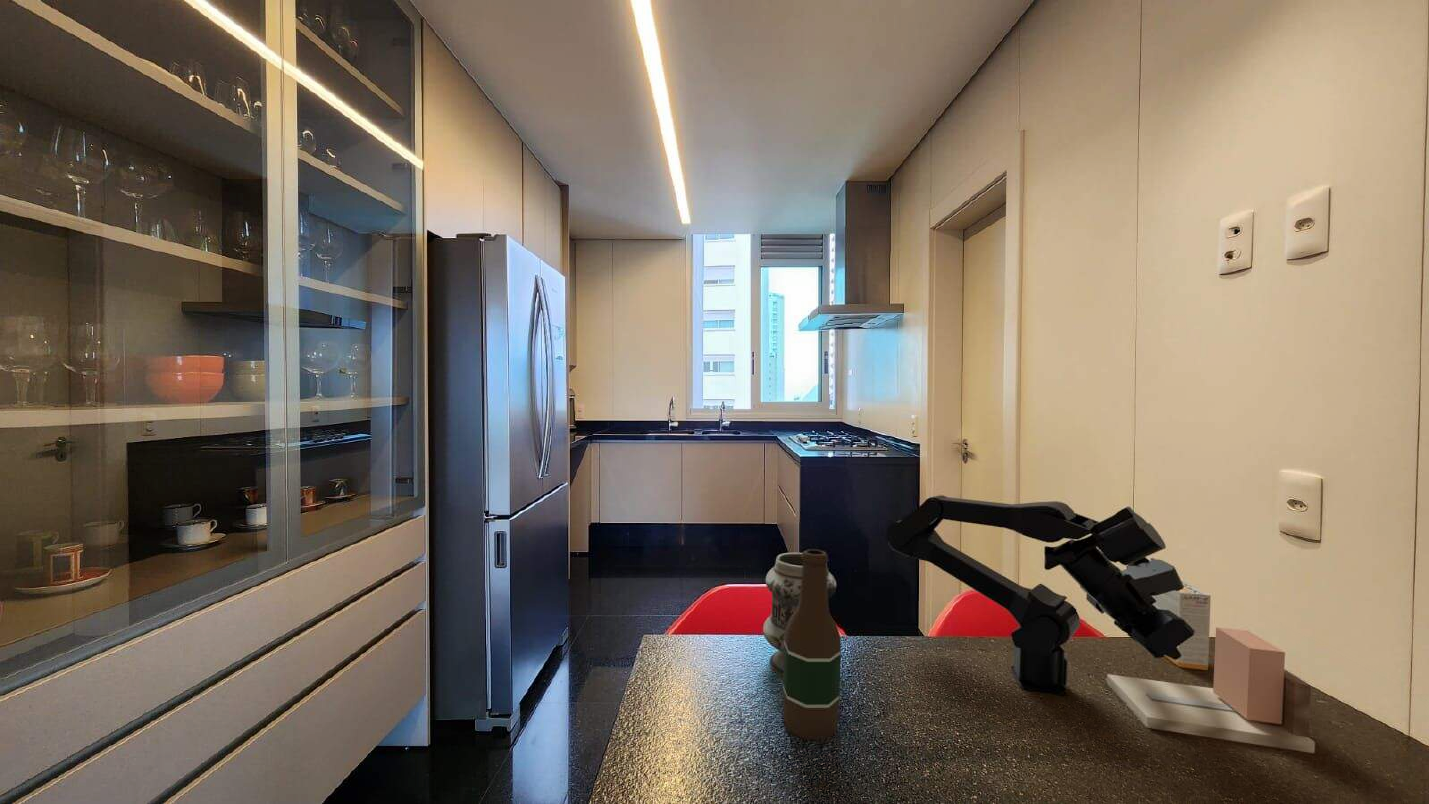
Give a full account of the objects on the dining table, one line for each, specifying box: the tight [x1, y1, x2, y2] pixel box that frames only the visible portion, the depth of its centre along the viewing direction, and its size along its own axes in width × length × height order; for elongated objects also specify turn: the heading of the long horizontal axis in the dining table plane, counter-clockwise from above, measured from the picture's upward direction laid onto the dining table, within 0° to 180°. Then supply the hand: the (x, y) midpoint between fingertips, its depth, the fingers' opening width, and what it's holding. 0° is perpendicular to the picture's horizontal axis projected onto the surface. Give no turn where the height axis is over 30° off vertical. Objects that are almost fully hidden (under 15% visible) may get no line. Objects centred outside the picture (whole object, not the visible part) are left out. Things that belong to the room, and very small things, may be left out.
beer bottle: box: [781, 548, 842, 741], centre depth 73 cm, size 8×8×24 cm
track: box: [1106, 668, 1316, 754], centre depth 79 cm, size 19×12×8 cm, turn 76°
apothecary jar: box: [762, 552, 837, 677], centre depth 90 cm, size 12×12×18 cm
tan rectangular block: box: [1212, 626, 1286, 724], centre depth 77 cm, size 4×7×10 cm, turn 166°
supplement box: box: [1152, 580, 1212, 671], centre depth 96 cm, size 8×5×13 cm, turn 168°
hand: (1177, 657), depth 80 cm, fingers closed
